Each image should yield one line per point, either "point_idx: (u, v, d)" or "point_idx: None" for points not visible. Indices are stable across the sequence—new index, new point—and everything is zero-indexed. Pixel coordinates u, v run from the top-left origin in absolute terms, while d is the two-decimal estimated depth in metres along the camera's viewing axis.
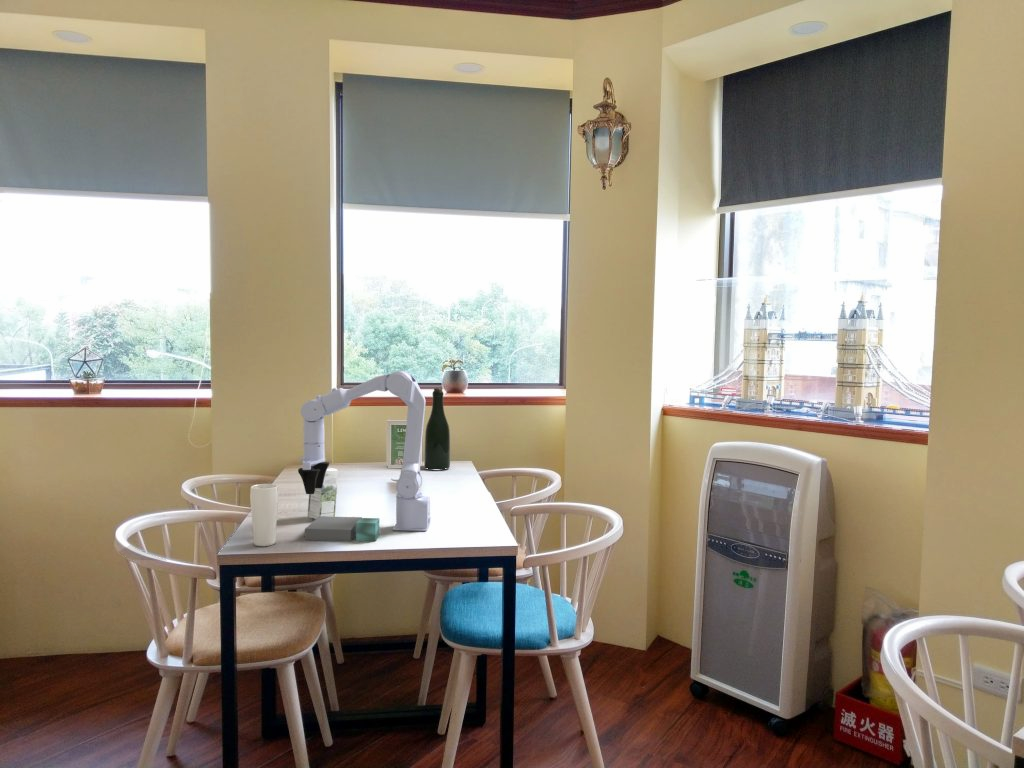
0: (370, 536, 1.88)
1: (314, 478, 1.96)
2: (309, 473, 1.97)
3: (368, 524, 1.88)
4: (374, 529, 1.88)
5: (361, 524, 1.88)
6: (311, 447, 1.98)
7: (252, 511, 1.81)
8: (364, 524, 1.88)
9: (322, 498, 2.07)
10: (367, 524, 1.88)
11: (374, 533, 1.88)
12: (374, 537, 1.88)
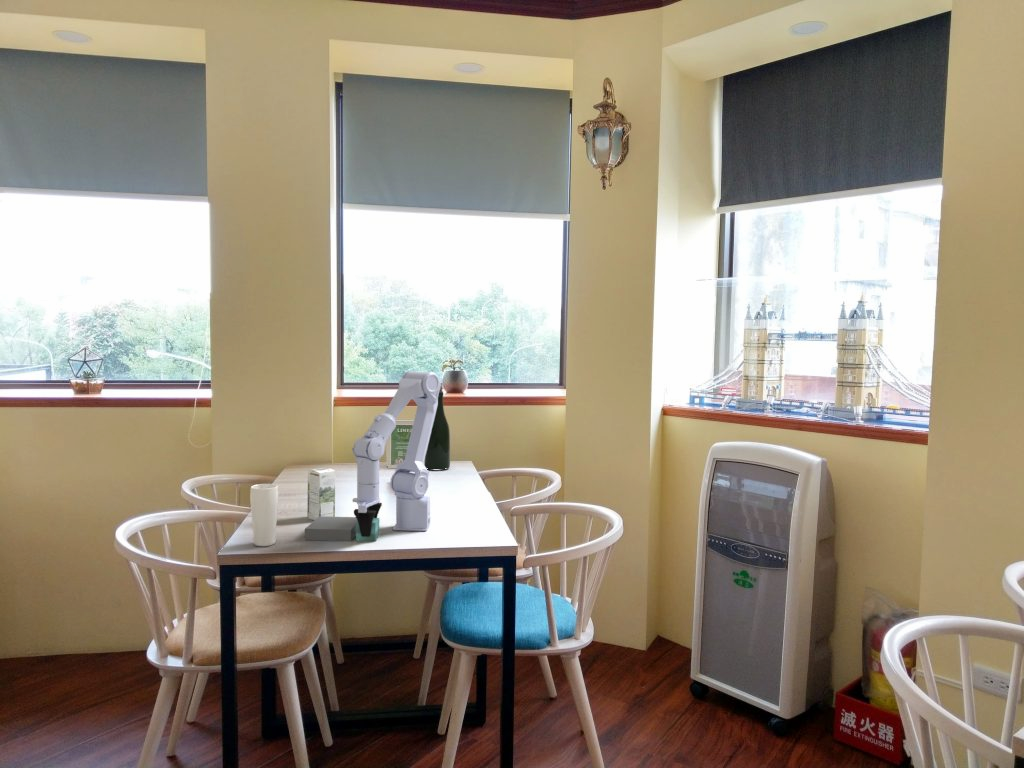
0: (370, 535, 1.88)
1: (370, 520, 1.86)
2: (365, 514, 1.87)
3: None
4: (374, 529, 1.88)
5: None
6: (366, 488, 1.87)
7: (252, 511, 1.81)
8: None
9: (321, 499, 2.07)
10: None
11: (374, 533, 1.88)
12: (374, 537, 1.88)
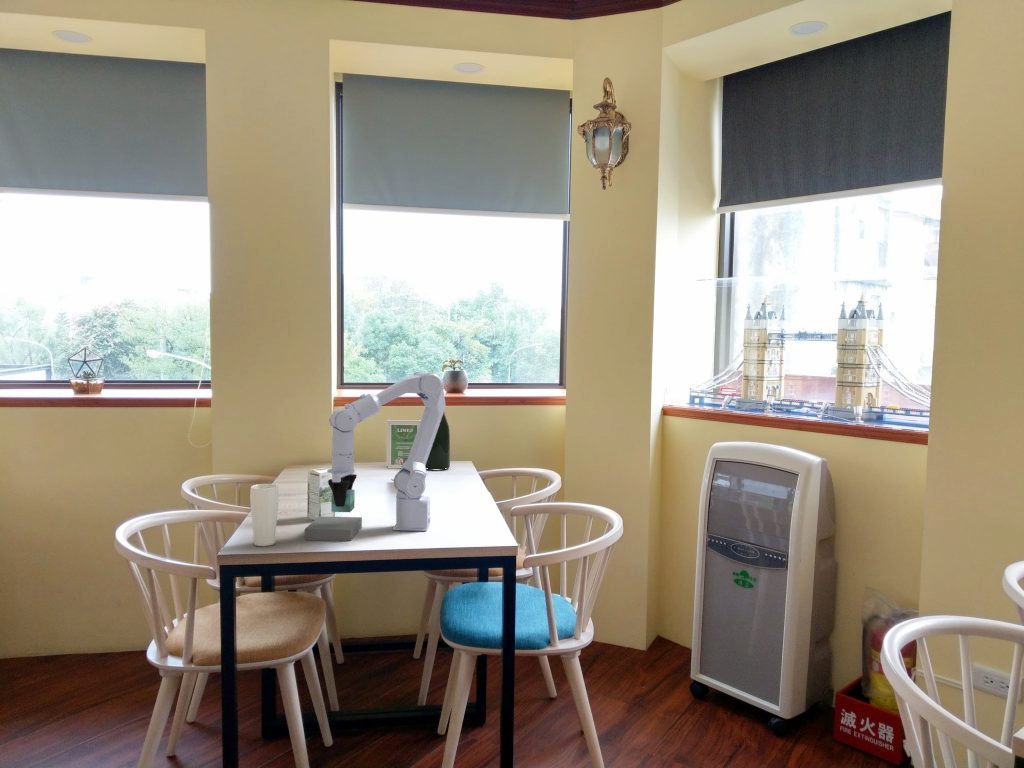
0: (345, 506, 1.90)
1: (345, 490, 1.88)
2: (339, 485, 1.89)
3: None
4: (349, 499, 1.90)
5: None
6: (340, 458, 1.89)
7: (252, 511, 1.81)
8: None
9: (321, 499, 2.07)
10: None
11: (349, 503, 1.90)
12: (349, 507, 1.90)
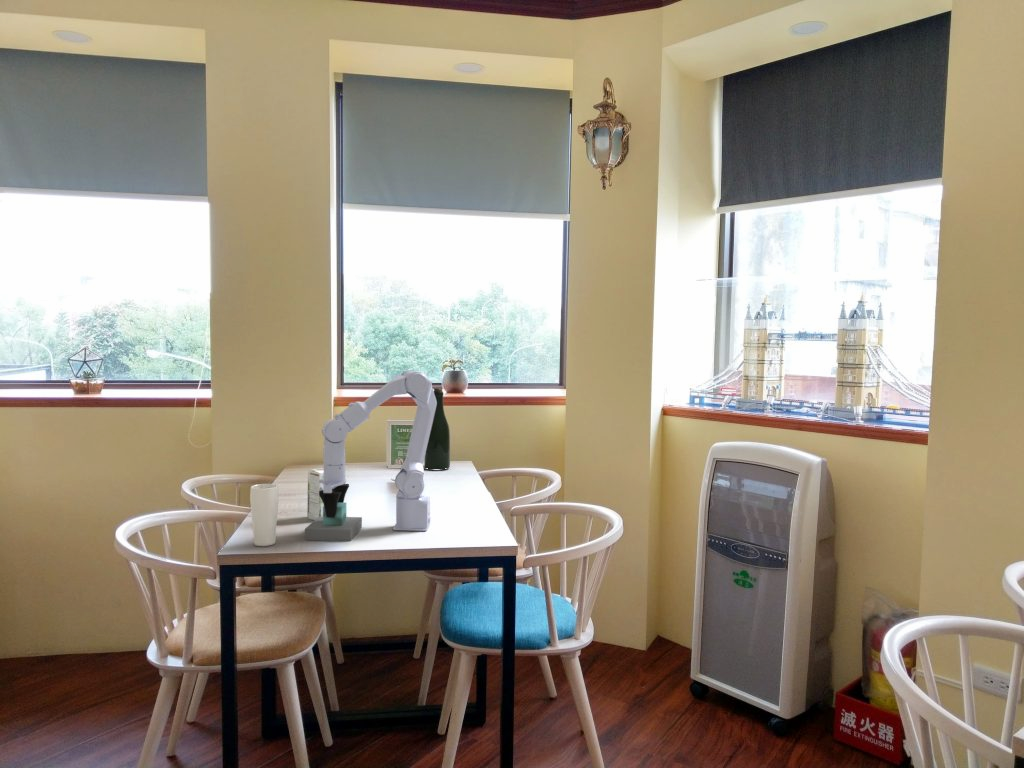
0: (337, 519, 1.92)
1: (335, 501, 1.89)
2: (330, 496, 1.90)
3: None
4: (340, 513, 1.92)
5: None
6: (332, 469, 1.91)
7: (252, 511, 1.81)
8: None
9: (321, 499, 2.07)
10: None
11: (340, 517, 1.92)
12: (340, 521, 1.92)
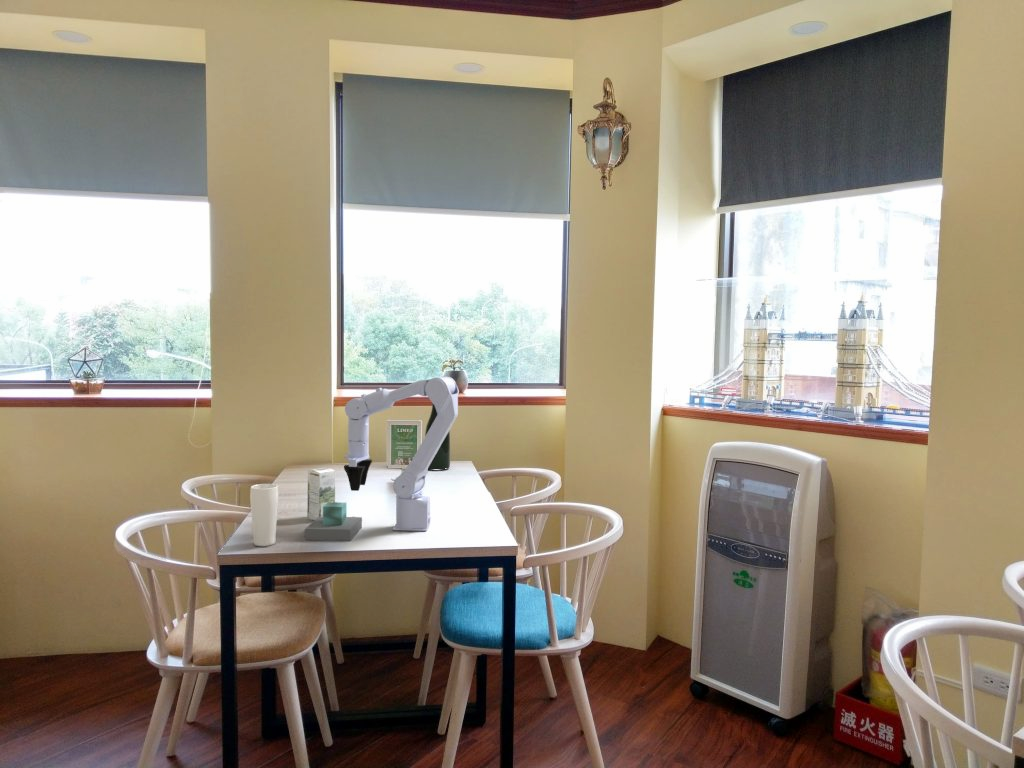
0: (337, 519, 1.92)
1: (359, 475, 1.99)
2: (354, 470, 2.00)
3: (334, 508, 1.92)
4: (340, 513, 1.92)
5: (328, 508, 1.92)
6: (356, 444, 2.01)
7: (252, 511, 1.81)
8: (330, 508, 1.92)
9: (321, 499, 2.07)
10: (333, 508, 1.92)
11: (340, 517, 1.92)
12: (340, 521, 1.92)
